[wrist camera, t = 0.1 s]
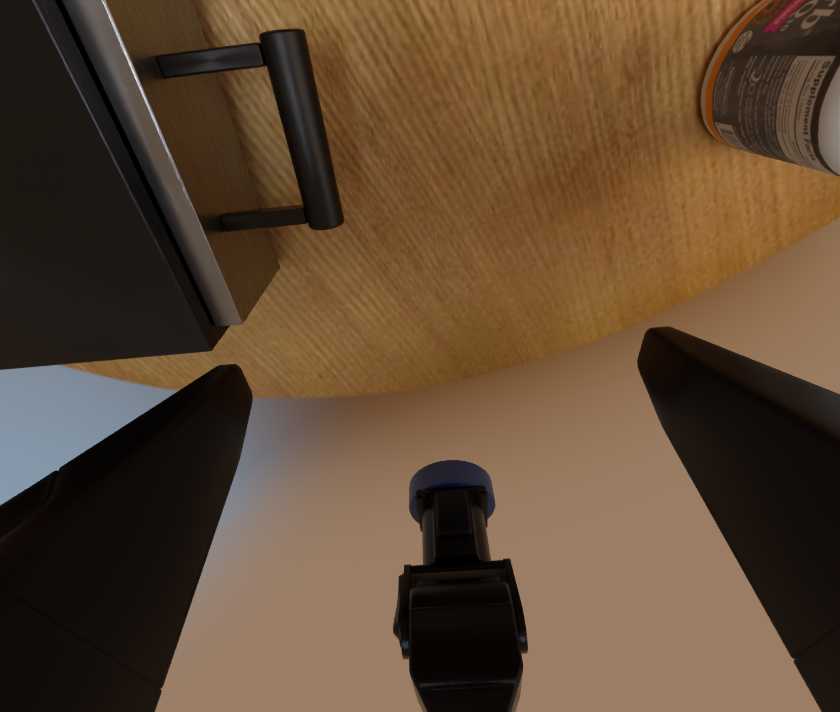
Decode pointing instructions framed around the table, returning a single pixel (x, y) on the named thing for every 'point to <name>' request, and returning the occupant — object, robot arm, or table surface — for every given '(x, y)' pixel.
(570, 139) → the table surface
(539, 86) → the table surface
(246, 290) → the drawer
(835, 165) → the pill bottle
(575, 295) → the table surface
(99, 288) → the cabinet
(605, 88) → the table surface
